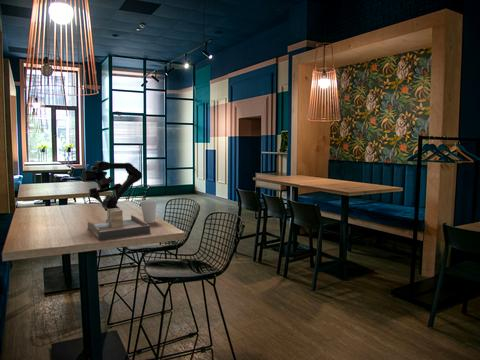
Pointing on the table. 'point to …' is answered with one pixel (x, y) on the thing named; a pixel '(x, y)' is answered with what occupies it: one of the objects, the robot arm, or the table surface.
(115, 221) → the birch brick
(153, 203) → the foam cup
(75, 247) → the table surface
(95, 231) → the grey flat rectangular tray
